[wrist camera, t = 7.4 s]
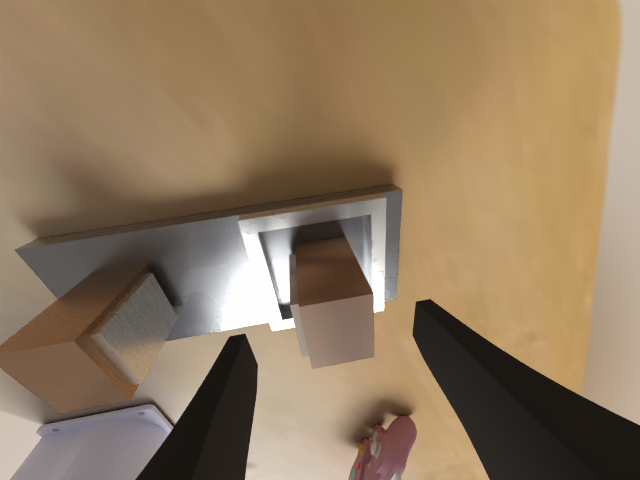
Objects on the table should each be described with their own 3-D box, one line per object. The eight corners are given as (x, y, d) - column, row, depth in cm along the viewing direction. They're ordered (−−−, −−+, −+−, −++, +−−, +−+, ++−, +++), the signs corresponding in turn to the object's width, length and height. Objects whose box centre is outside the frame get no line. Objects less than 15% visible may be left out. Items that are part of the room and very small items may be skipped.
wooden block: (299, 297, 15) (303, 370, 11) (287, 245, 13) (288, 309, 9) (349, 289, 15) (374, 357, 11) (345, 236, 14) (373, 293, 9)
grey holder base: (116, 337, 16) (32, 445, 11) (37, 238, 13) (-152, 331, 7) (389, 288, 18) (436, 365, 12) (393, 184, 14) (463, 228, 8)
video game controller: (383, 396, 28) (378, 465, 21) (418, 418, 27) (425, 495, 21) (348, 438, 32) (336, 506, 25) (379, 457, 31) (374, 533, 25)
